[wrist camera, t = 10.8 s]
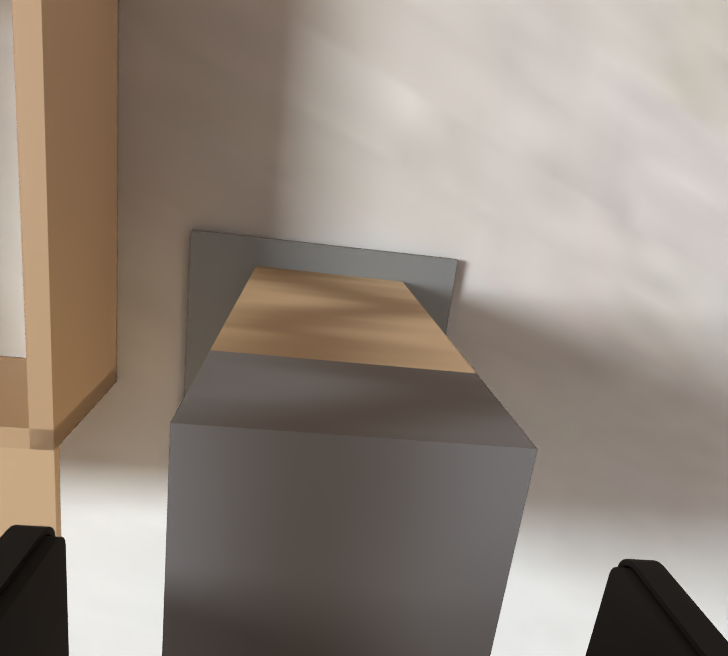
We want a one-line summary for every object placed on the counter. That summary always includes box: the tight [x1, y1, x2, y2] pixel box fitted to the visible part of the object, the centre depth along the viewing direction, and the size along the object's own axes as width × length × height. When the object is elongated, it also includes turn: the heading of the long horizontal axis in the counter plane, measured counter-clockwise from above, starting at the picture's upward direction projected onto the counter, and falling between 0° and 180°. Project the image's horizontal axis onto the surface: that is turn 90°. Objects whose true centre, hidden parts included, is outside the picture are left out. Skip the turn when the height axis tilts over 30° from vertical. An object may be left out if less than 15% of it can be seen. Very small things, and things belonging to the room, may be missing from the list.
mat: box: [184, 230, 458, 397], centre depth 20 cm, size 9×10×1 cm
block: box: [162, 266, 537, 656], centre depth 14 cm, size 5×8×12 cm, turn 173°
